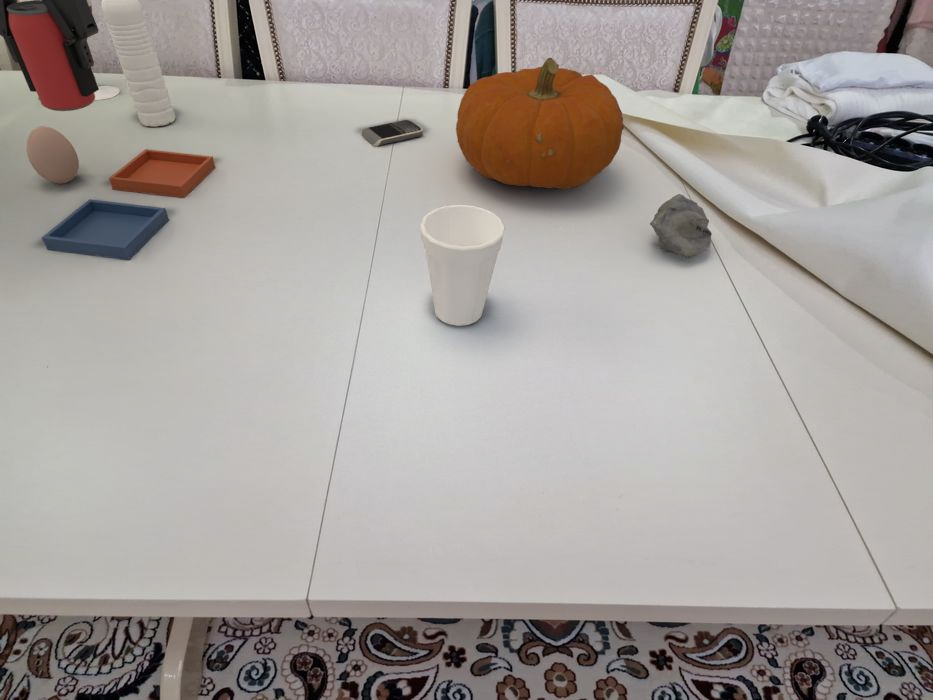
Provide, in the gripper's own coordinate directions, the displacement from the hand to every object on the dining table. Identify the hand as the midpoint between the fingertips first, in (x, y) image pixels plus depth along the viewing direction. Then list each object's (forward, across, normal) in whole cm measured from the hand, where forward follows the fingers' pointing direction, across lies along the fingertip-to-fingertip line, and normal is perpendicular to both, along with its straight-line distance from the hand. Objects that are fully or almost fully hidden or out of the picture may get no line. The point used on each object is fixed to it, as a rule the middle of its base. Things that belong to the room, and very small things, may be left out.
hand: (64, 90), depth 83 cm
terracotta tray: (+18, -3, -12) cm, 22 cm away
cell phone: (+19, -36, -38) cm, 55 cm away
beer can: (+2, 0, 0) cm, 2 cm away
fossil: (+19, -86, -7) cm, 89 cm away
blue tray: (+18, -3, +6) cm, 20 cm away
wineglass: (+18, +29, -44) cm, 56 cm away
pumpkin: (+19, -64, -27) cm, 72 cm away
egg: (+18, +12, -7) cm, 23 cm away
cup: (+19, -56, +15) cm, 61 cm away
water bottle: (+18, +9, -34) cm, 40 cm away
